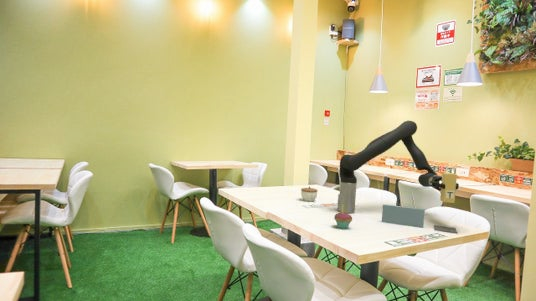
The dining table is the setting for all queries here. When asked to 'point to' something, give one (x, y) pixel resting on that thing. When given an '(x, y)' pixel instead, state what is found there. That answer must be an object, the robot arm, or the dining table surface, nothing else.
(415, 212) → the screen
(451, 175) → the letter block
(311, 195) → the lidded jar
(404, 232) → the dining table surface
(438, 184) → the robot arm
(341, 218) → the cupcake
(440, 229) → the mat
